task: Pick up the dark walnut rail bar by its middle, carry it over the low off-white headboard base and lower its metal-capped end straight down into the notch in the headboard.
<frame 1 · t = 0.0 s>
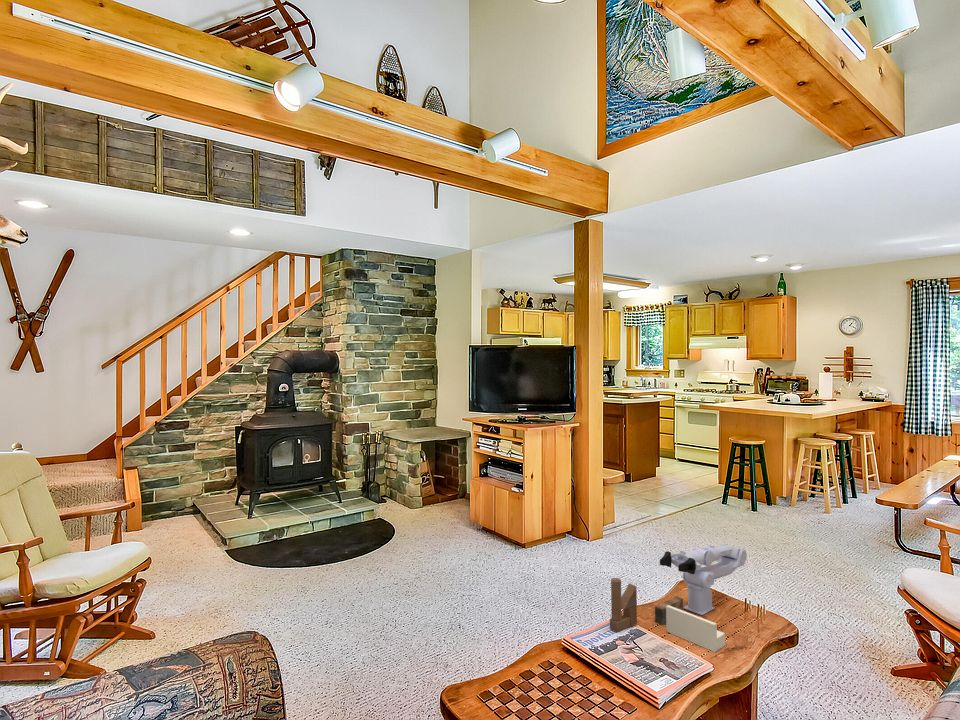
hand: (669, 565, 195), 22 cm above the table, tool horizontal, fingers open, 7 cm apart
headboard: (695, 638, 185), on the table
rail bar: (669, 618, 200), on the table
wooden block: (623, 627, 194), on the table
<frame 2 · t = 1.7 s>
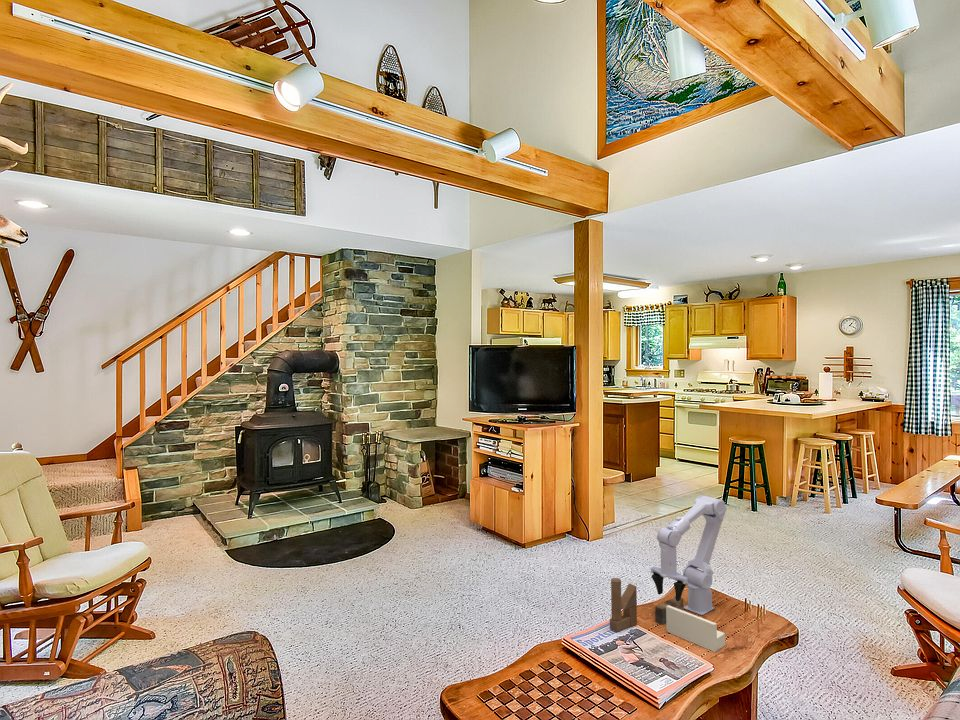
hand: (669, 596, 200), 8 cm above the table, tool pointing down, fingers open, 7 cm apart
nothing on the table moved.
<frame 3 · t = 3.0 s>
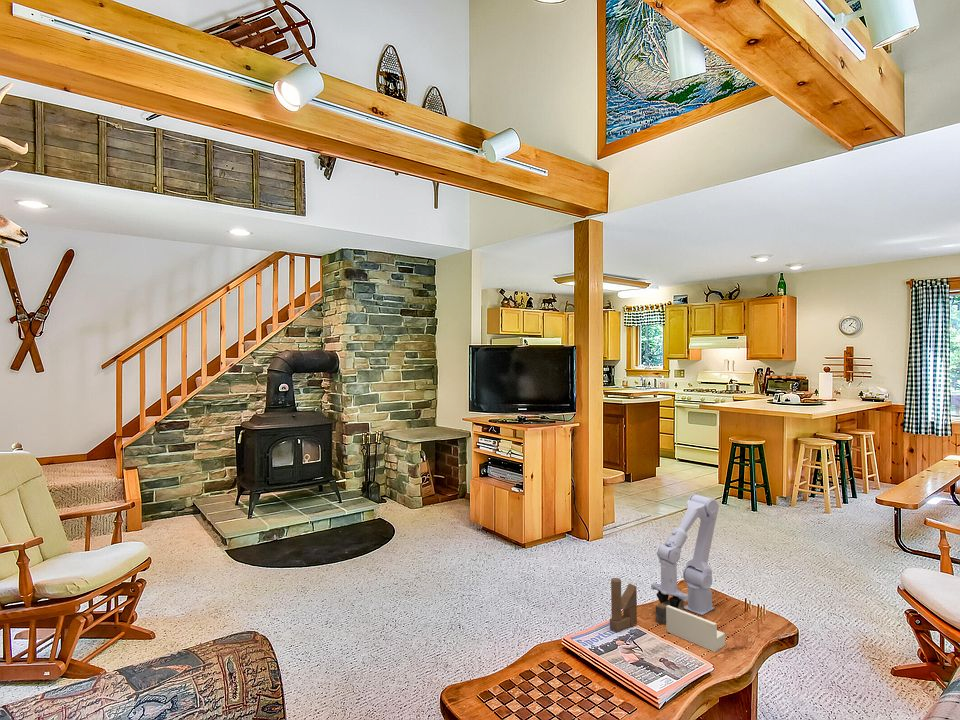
hand: (669, 613, 200), 2 cm above the table, tool pointing down, fingers closed on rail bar, 3 cm apart
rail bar: (670, 617, 200), on the table, touching gripper
everything else where it was.
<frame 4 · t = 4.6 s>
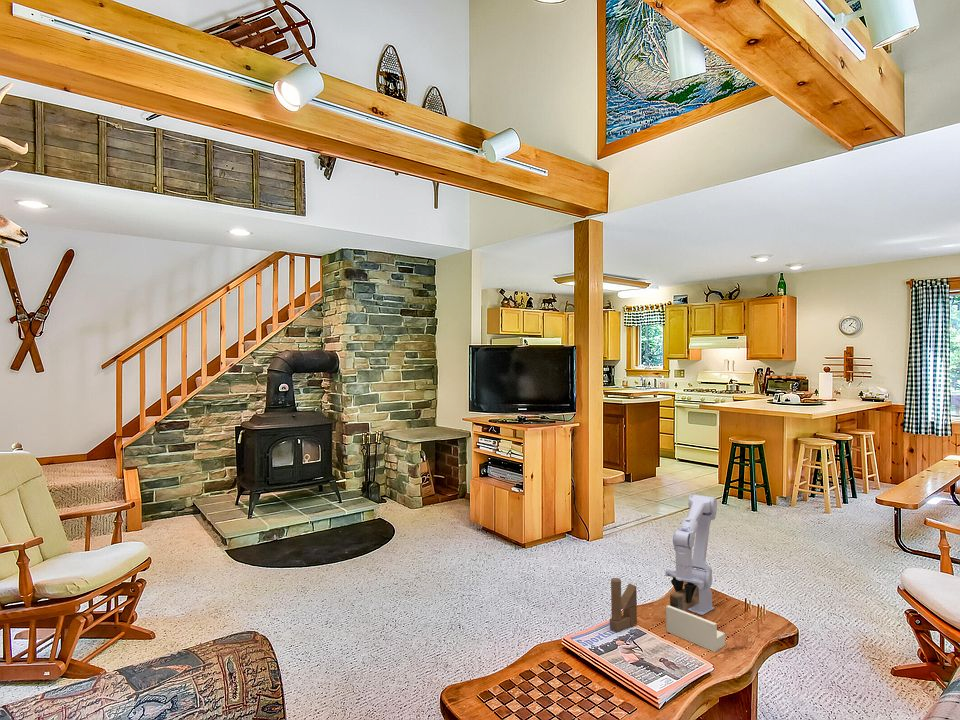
hand: (684, 600, 195), 9 cm above the table, tool pointing down, fingers closed on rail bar, 3 cm apart
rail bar: (685, 607, 195), point 6 cm above the table, touching gripper
everything else where it was.
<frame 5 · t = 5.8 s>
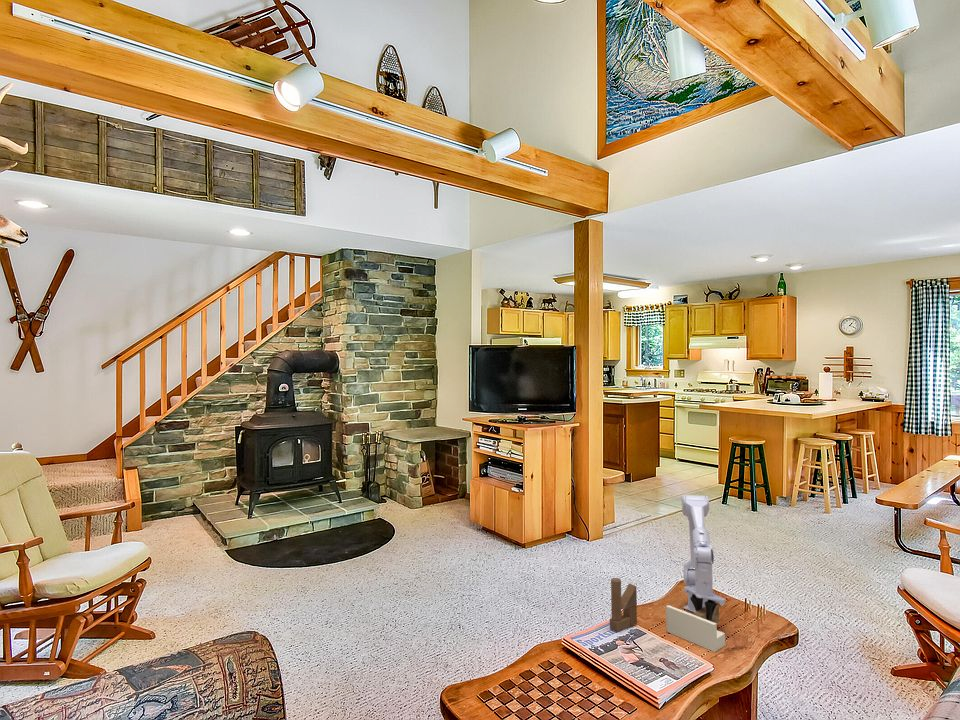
hand: (704, 618, 189), 5 cm above the table, tool pointing down, fingers closed on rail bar, 3 cm apart
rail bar: (705, 626, 189), point 2 cm above the table, touching gripper
everything else where it was.
when the fingers open (3 cm above the table, at t = 6.5 s): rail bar stays where it is, on the table.
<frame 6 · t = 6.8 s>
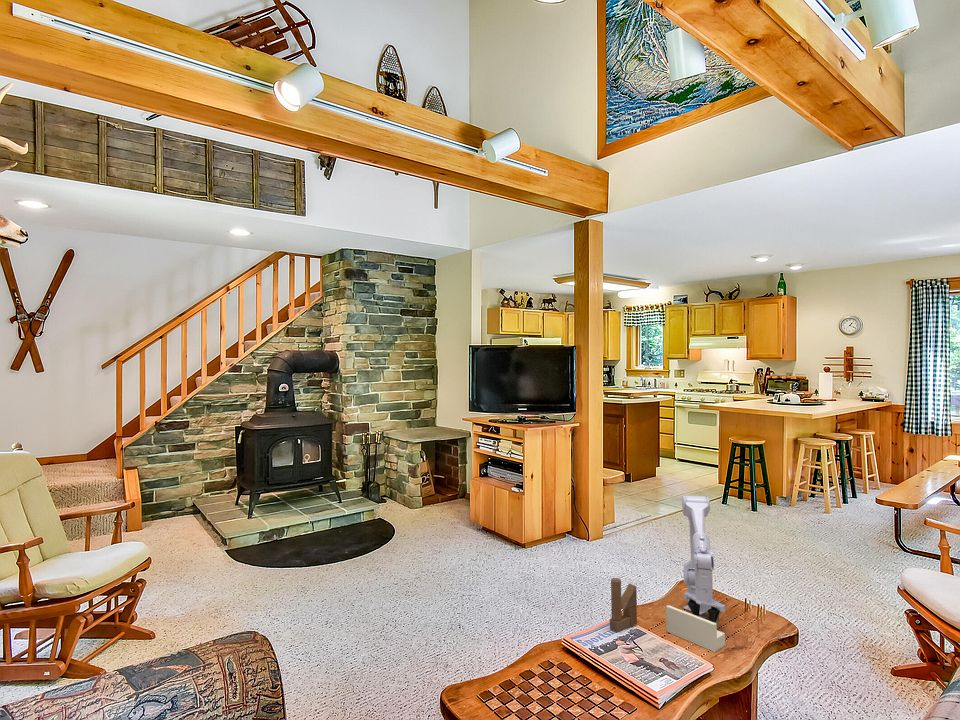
hand: (704, 624, 189), 3 cm above the table, tool pointing down, fingers open, 5 cm apart
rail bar: (705, 632, 189), on the table
everything else where it was.
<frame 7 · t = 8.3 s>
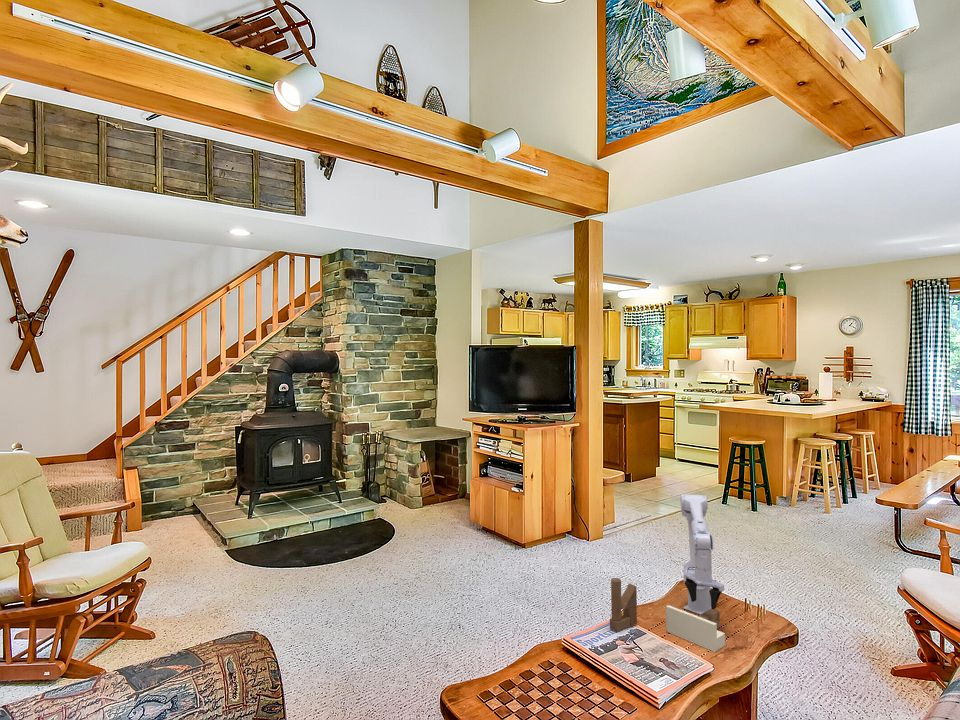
hand: (703, 604, 191), 9 cm above the table, tool pointing down, fingers open, 7 cm apart
nothing on the table moved.
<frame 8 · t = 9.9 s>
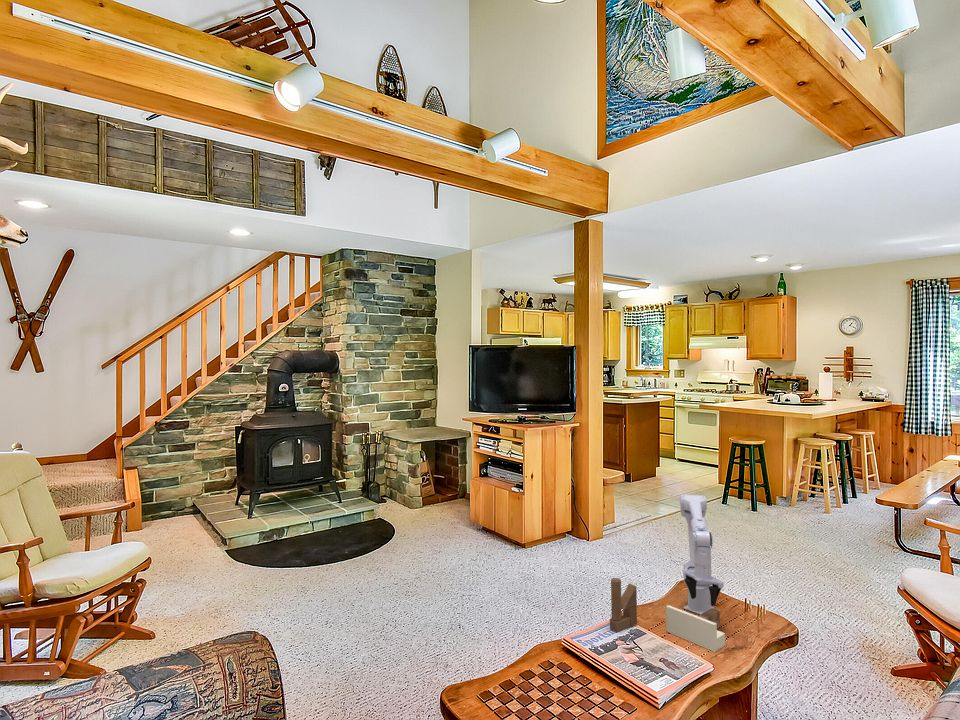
hand: (703, 601, 193), 9 cm above the table, tool pointing down, fingers open, 7 cm apart
nothing on the table moved.
at the end: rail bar 0.4 cm from the target spot on the table beside the headboard, on the table; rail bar tilted 0°; the gripper is holding nothing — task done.
